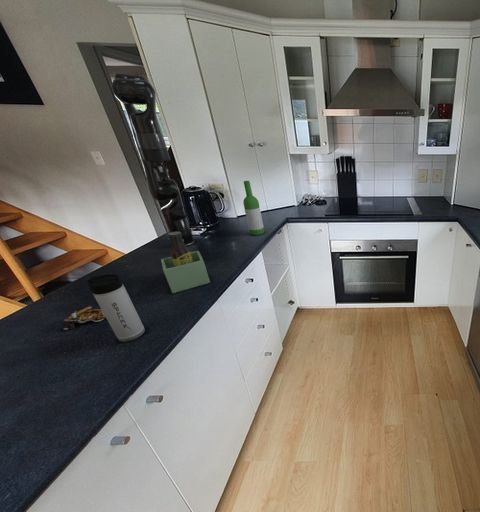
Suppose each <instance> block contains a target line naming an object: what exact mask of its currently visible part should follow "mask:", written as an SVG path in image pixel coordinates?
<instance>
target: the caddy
mask: <svg viewBox="0 0 480 512" xmlns="http://www.w3.org/2000/svg"><path fill="white" fill-rule="evenodd" d="M190 252H191V255H192V259H193V262H192V263H188V264H184V265H180V266H176V267H175V266H174V263H173V260H172V256H168V257H164V258H161V259H160V261H161V266H162V271H163V273H164V276H165V278H166V281H167V284H168V286H169V288H170V292H171V294H175V293H179V292H182V291H186V290H189V289H192V288H193V289H194V288H196V287H199V286H203V285H207V284H211V280H210V277H209V274H208V270H207V267H206V265H205V261H204V259H203V256H202V255H201V252H200V251H199V250H195V251H190Z"/></svg>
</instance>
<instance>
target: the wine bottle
mask: <svg viewBox="0 0 480 512" xmlns="http://www.w3.org/2000/svg"><path fill="white" fill-rule="evenodd" d="M243 186H244V190H245V195H246V196H245V197H244V199H243V202H242V203H243V208H244V213H245V219H246V222H247V227H248V231H249V234H250V235H251V236H261V235H263V234H265V227H264V223H263V216H262V211H261V208H260V202H259V200H258V199H257V197H255V196H254V195H253V191H252V186H251V181H250V180H244V181H243Z"/></svg>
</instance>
